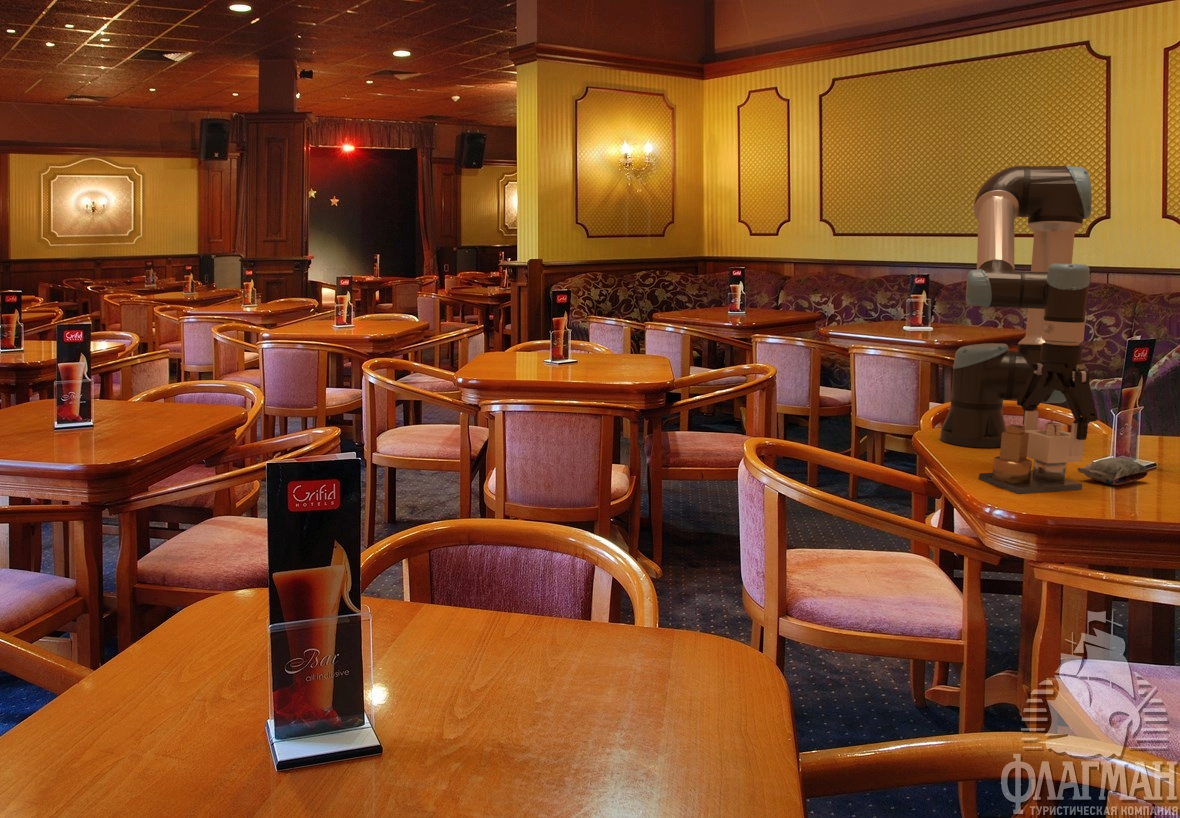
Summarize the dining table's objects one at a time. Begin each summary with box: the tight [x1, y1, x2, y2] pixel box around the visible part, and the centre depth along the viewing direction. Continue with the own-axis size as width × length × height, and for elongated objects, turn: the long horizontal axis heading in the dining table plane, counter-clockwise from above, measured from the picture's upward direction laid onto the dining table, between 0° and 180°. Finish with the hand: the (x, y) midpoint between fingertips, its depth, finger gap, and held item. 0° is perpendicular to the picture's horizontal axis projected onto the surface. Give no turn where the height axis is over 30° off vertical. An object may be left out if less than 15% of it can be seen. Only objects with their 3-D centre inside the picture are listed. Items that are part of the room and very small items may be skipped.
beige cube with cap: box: [1025, 428, 1083, 463], centre depth 216 cm, size 8×8×5 cm
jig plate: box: [978, 469, 1084, 495], centre depth 216 cm, size 15×12×1 cm
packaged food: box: [1076, 457, 1149, 486], centre depth 220 cm, size 9×12×5 cm
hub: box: [992, 424, 1033, 484], centre depth 214 cm, size 7×7×11 cm
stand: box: [1032, 422, 1068, 481], centre depth 216 cm, size 6×6×11 cm
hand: (1051, 449), depth 216 cm, fingers open, 13 cm apart
